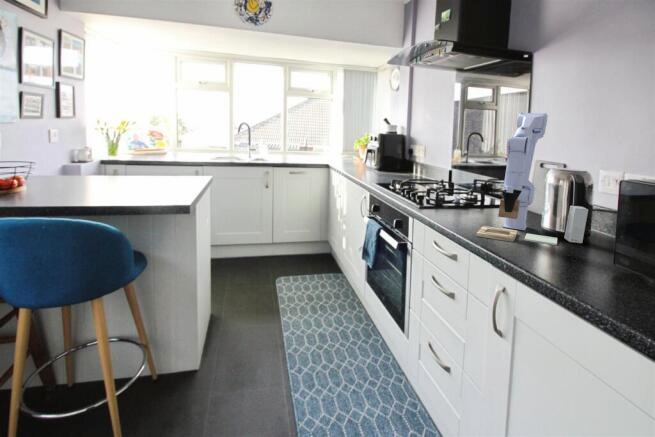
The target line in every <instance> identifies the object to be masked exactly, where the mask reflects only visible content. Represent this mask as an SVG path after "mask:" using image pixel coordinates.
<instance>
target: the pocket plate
mask: <svg viewBox="0 0 655 437" xmlns="http://www.w3.org/2000/svg"><path fill="white" fill-rule="evenodd" d="M517 235H518V230H516V229H514V230H513V229H509V228H508V229H507V228H503V227H502V228H501V227H500V228H499V227H493V226H487V225H482V226H481V227H480V229H479V230H477V232H476V235H475V236H476V237H480V238H487V239H493V240H500V241H504V242H512V243H514V241H515V239H516V238H517Z"/></svg>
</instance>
